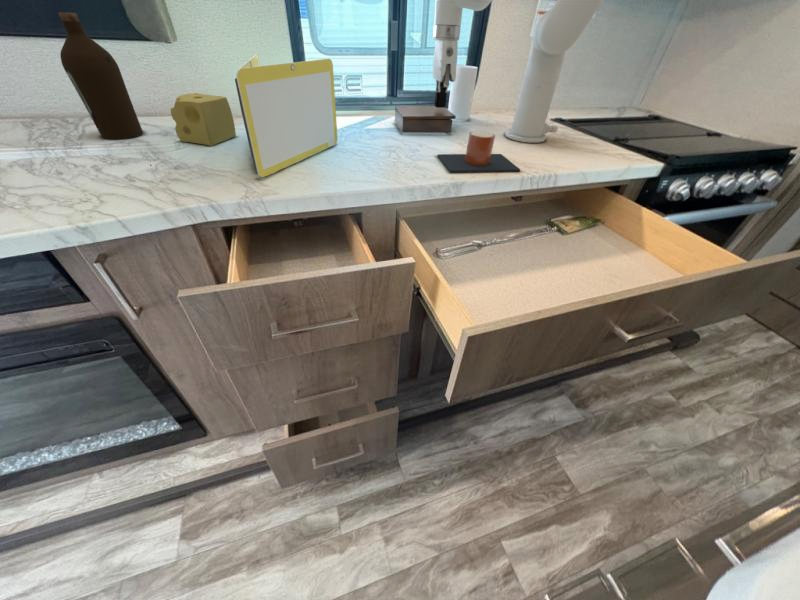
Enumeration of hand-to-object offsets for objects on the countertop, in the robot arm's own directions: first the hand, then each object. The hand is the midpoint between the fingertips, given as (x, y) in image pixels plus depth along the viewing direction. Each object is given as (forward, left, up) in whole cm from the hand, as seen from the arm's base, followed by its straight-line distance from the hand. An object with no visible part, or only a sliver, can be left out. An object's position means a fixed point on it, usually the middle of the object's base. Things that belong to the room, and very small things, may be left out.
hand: (439, 106), depth 106 cm
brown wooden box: (+5, 0, -7) cm, 9 cm away
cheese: (+67, +12, -7) cm, 69 cm away
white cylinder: (-12, -14, -7) cm, 19 cm away
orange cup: (-1, +34, -6) cm, 35 cm away
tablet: (+43, +25, -7) cm, 51 cm away
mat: (-2, +34, -7) cm, 35 cm away
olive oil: (+90, +8, -7) cm, 91 cm away
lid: (+5, 0, -2) cm, 5 cm away
